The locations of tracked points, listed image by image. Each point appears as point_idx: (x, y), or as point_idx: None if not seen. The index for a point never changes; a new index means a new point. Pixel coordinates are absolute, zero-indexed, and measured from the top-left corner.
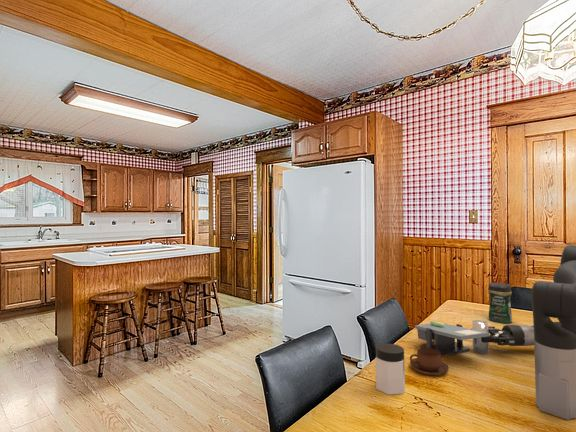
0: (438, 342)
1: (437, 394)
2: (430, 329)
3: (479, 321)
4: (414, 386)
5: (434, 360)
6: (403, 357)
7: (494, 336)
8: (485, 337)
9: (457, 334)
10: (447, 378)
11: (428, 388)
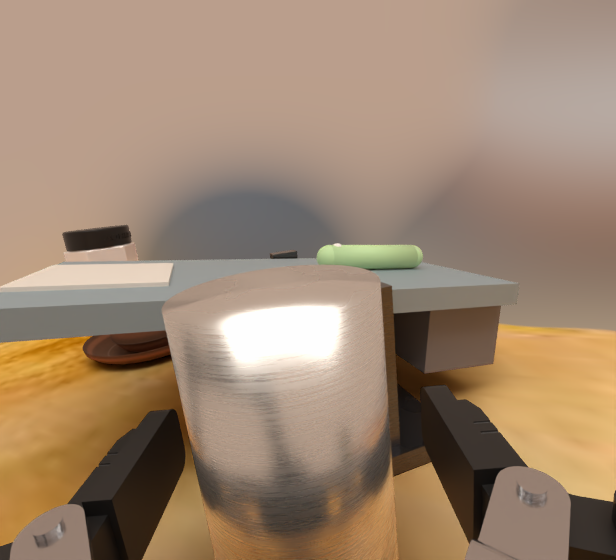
0: None
1: (26, 346)
2: (270, 253)
3: (305, 285)
4: None
5: None
6: (68, 247)
7: (47, 524)
8: (137, 439)
9: (112, 263)
10: (72, 367)
11: (64, 339)
